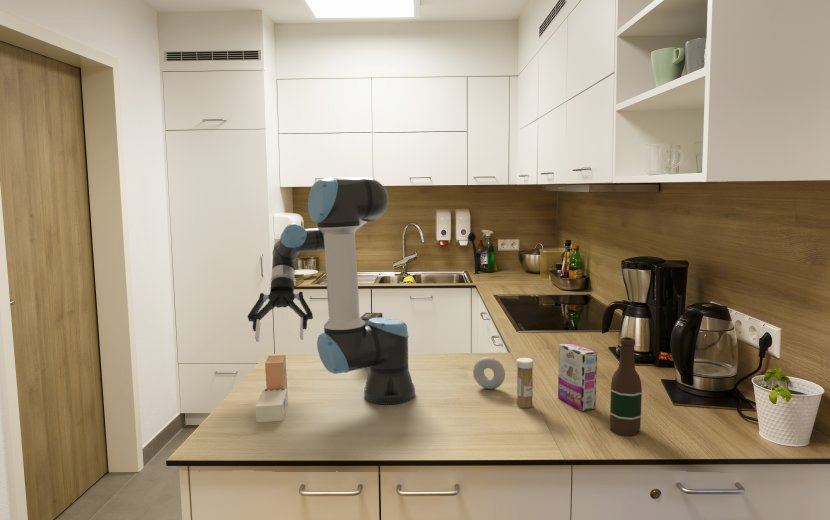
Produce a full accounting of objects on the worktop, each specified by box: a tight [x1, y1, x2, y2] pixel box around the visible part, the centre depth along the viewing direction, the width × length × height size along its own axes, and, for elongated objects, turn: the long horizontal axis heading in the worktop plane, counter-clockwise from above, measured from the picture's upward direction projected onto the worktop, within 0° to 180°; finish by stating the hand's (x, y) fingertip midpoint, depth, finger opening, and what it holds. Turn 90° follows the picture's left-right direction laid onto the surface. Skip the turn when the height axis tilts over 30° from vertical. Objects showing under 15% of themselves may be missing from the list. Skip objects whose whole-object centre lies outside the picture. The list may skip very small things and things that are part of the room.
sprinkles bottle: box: [516, 357, 534, 409], centre depth 165 cm, size 5×5×14 cm
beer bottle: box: [609, 336, 643, 437], centre depth 147 cm, size 8×8×24 cm
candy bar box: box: [557, 342, 598, 412], centre depth 166 cm, size 11×5×16 cm, turn 23°
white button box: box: [255, 388, 289, 423], centre depth 164 cm, size 7×12×5 cm, turn 6°
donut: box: [472, 356, 506, 390], centre depth 179 cm, size 10×4×10 cm, turn 65°
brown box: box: [264, 354, 288, 394], centre depth 174 cm, size 5×7×12 cm
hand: (279, 338), depth 183 cm, fingers open, 13 cm apart
